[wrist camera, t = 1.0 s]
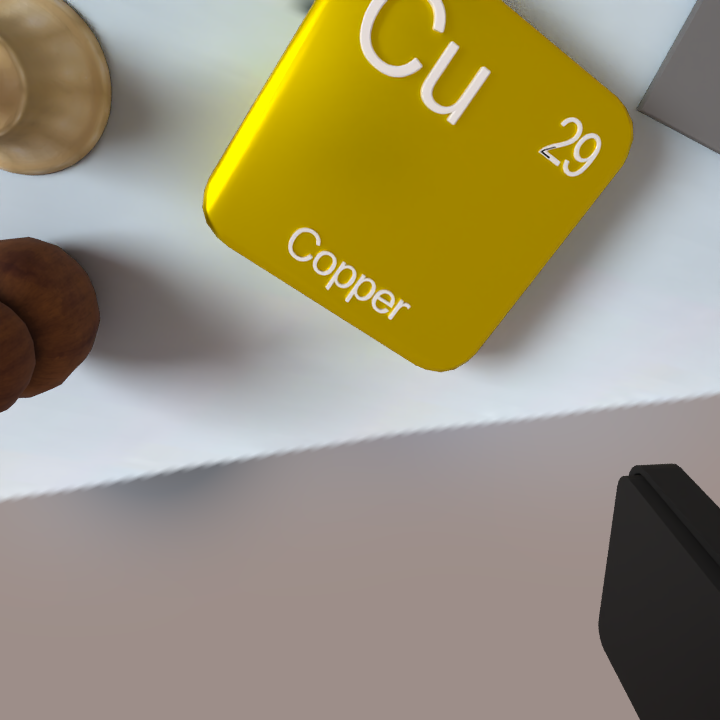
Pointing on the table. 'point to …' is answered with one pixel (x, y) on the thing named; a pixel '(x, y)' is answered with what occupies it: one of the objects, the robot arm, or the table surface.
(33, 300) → the wooden figurine
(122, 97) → the table surface
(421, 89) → the element tile
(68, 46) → the hand bell
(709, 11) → the mat
